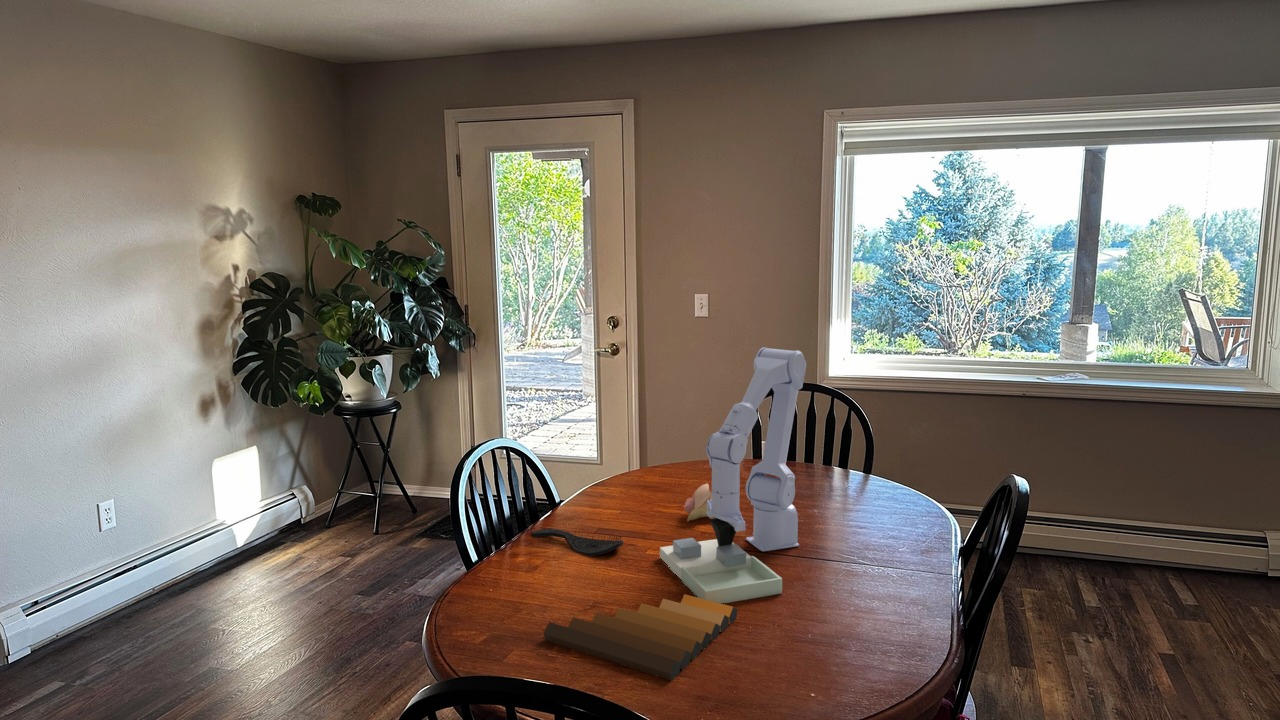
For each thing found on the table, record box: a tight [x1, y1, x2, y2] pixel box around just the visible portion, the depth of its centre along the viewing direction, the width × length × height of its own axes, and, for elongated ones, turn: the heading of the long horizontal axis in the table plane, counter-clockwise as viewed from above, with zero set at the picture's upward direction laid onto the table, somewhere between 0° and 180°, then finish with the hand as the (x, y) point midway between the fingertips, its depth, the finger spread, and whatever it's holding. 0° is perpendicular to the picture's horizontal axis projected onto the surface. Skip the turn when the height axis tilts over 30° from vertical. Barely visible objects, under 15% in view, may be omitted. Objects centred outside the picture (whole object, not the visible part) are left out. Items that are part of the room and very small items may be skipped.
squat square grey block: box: [716, 543, 747, 567], centre depth 165 cm, size 4×4×2 cm
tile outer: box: [672, 537, 701, 560], centre depth 169 cm, size 4×4×2 cm
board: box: [659, 538, 752, 580], centre depth 170 cm, size 16×12×2 cm
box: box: [680, 555, 783, 604], centre depth 158 cm, size 16×12×3 cm
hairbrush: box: [531, 528, 624, 557], centre depth 182 cm, size 8×4×25 cm
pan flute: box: [542, 593, 738, 681], centre depth 142 cm, size 25×3×25 cm
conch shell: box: [684, 483, 716, 522], centre depth 196 cm, size 9×10×10 cm
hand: (725, 552), depth 167 cm, fingers closed
